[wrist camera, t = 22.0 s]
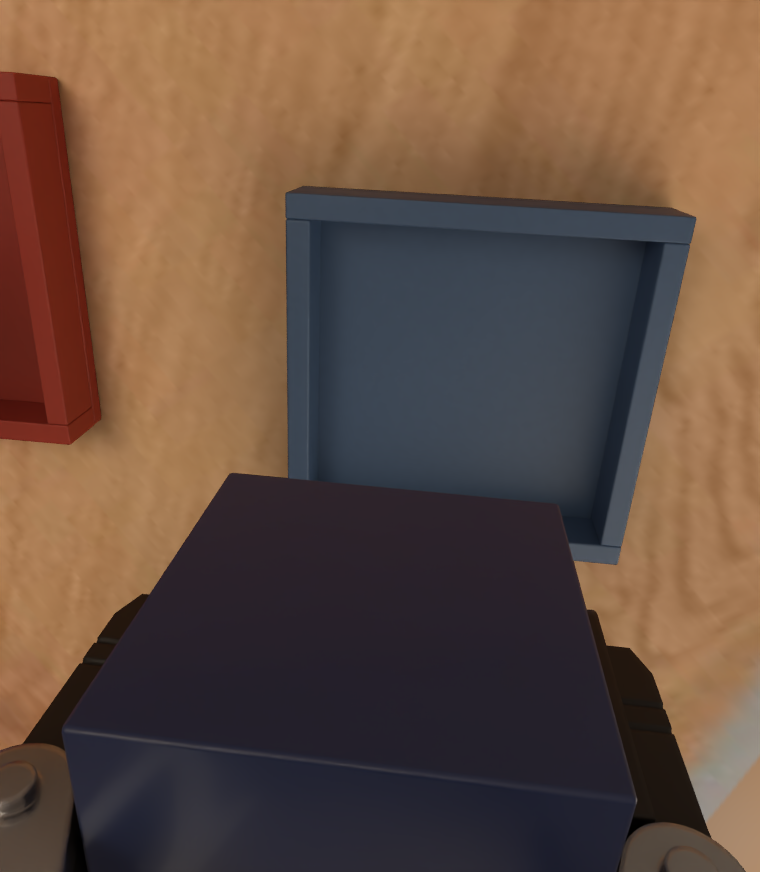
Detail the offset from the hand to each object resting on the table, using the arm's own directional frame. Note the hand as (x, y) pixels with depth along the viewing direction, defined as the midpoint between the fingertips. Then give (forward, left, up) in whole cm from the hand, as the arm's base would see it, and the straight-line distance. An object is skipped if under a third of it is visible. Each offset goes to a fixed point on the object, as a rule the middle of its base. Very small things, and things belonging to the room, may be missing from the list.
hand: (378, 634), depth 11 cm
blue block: (0, 0, 0) cm, 0 cm away
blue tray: (+1, +2, -16) cm, 17 cm away
